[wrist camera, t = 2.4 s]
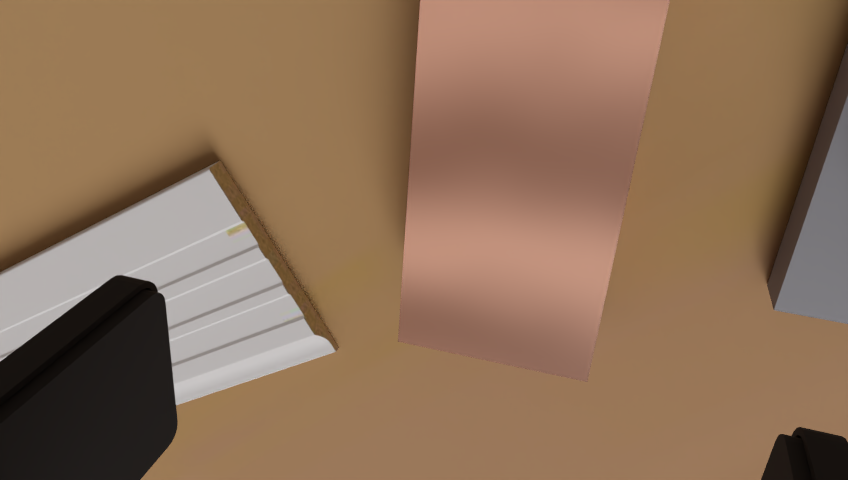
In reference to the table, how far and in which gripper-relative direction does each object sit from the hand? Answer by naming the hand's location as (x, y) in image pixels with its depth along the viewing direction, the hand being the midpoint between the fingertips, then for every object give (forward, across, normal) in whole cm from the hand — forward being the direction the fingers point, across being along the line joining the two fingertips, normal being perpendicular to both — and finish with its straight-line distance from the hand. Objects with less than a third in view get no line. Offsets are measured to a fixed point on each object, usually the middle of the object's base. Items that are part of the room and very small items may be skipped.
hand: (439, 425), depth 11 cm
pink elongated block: (+14, +1, -1) cm, 15 cm away
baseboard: (+15, +22, +15) cm, 30 cm away
